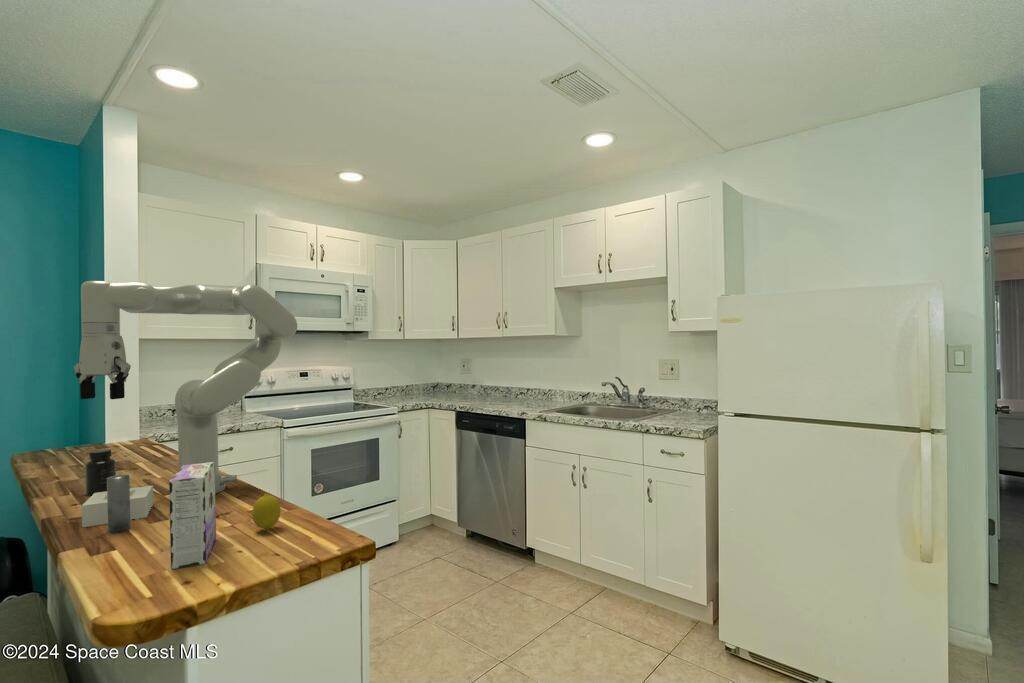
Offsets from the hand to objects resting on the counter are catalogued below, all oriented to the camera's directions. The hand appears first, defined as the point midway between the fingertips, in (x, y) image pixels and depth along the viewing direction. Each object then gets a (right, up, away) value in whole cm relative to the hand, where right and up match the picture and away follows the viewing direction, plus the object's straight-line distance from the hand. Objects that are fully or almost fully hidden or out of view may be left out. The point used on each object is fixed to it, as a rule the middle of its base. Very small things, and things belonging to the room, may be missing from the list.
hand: (102, 398), depth 127 cm
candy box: (+41, -28, -28) cm, 56 cm away
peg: (+15, -28, -13) cm, 34 cm away
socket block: (+7, -28, -3) cm, 29 cm away
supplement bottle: (-15, -29, +18) cm, 38 cm away
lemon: (+49, -27, -16) cm, 58 cm away
